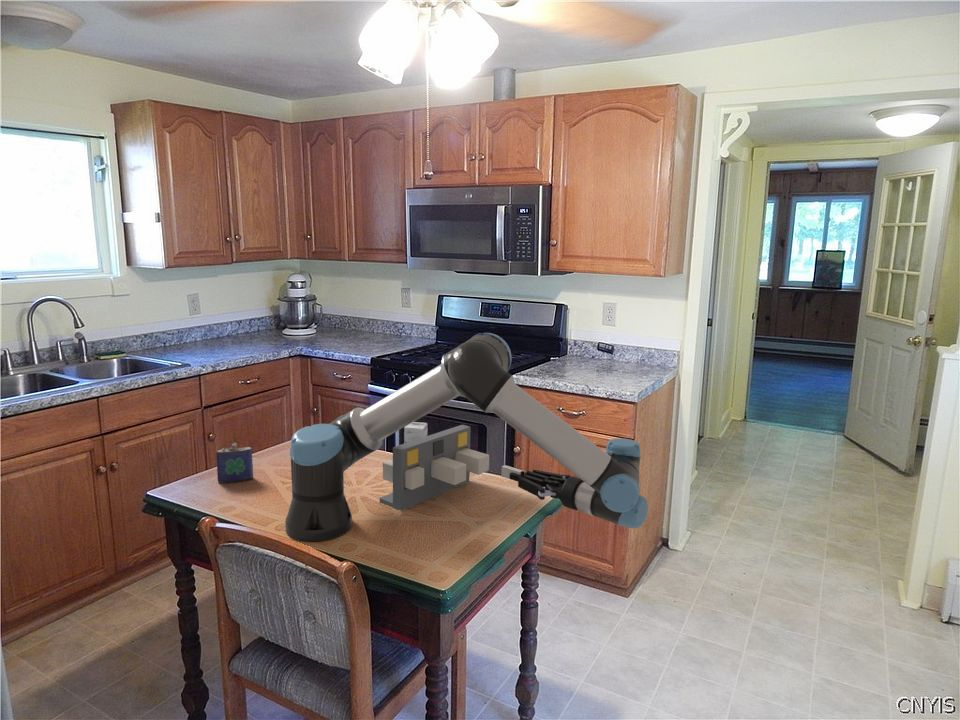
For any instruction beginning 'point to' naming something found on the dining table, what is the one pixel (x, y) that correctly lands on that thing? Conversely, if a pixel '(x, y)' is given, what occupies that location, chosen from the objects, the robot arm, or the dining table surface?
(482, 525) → the dining table surface
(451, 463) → the button mid
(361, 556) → the dining table surface
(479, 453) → the button right
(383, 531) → the dining table surface
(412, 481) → the button left
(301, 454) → the robot arm
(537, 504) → the dining table surface
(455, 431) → the light board
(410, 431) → the syrup box
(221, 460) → the flask
